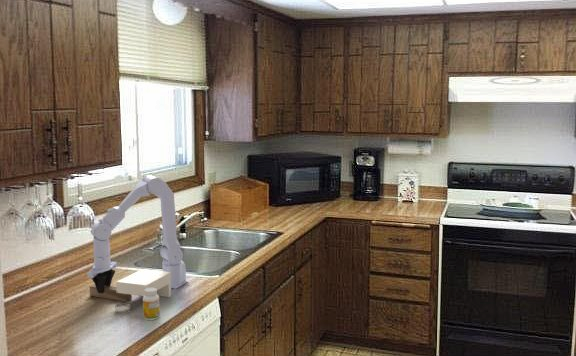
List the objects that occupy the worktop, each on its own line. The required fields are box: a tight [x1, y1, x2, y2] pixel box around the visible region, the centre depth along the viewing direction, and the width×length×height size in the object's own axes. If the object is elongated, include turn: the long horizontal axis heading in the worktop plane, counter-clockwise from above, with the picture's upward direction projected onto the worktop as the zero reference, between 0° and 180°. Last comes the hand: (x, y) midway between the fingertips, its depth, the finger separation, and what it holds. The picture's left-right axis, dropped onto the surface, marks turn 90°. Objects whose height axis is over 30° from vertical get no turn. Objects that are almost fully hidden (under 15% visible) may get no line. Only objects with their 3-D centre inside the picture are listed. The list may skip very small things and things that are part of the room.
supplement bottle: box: [142, 288, 161, 321], centre depth 192 cm, size 5×5×10 cm
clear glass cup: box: [114, 302, 131, 314], centre depth 199 cm, size 5×5×2 cm
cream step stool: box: [116, 268, 172, 298], centre depth 208 cm, size 16×12×9 cm
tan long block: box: [89, 283, 133, 302], centre depth 212 cm, size 3×16×4 cm, turn 71°
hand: (103, 291), depth 213 cm, fingers closed on tan long block, 3 cm apart
